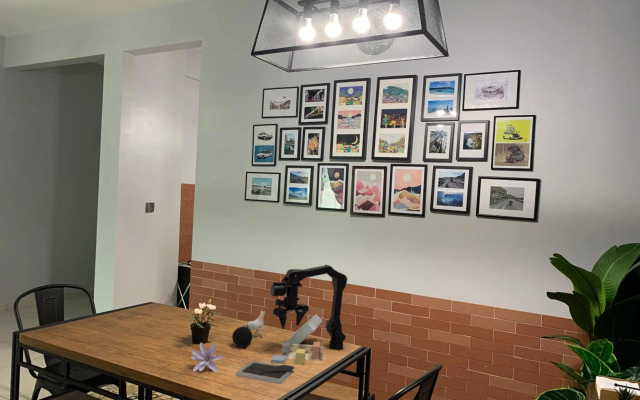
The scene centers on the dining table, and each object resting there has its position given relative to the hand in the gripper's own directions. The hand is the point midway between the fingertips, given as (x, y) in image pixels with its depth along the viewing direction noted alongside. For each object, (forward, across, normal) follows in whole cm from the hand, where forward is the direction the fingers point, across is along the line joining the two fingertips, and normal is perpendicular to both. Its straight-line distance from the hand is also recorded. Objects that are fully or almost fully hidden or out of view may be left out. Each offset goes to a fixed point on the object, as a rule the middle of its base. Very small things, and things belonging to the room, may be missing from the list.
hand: (290, 327), depth 238 cm
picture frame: (+14, +24, +13) cm, 31 cm away
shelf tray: (+13, -1, +8) cm, 15 cm away
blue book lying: (+14, +12, +7) cm, 20 cm away
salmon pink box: (+12, -6, +13) cm, 19 cm away
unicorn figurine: (+14, -1, -32) cm, 35 cm away
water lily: (+13, +43, -6) cm, 46 cm away
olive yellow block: (+13, +5, +14) cm, 20 cm away
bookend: (+12, +4, +2) cm, 13 cm away
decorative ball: (+14, +12, -22) cm, 29 cm away
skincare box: (+12, -12, -10) cm, 20 cm away
